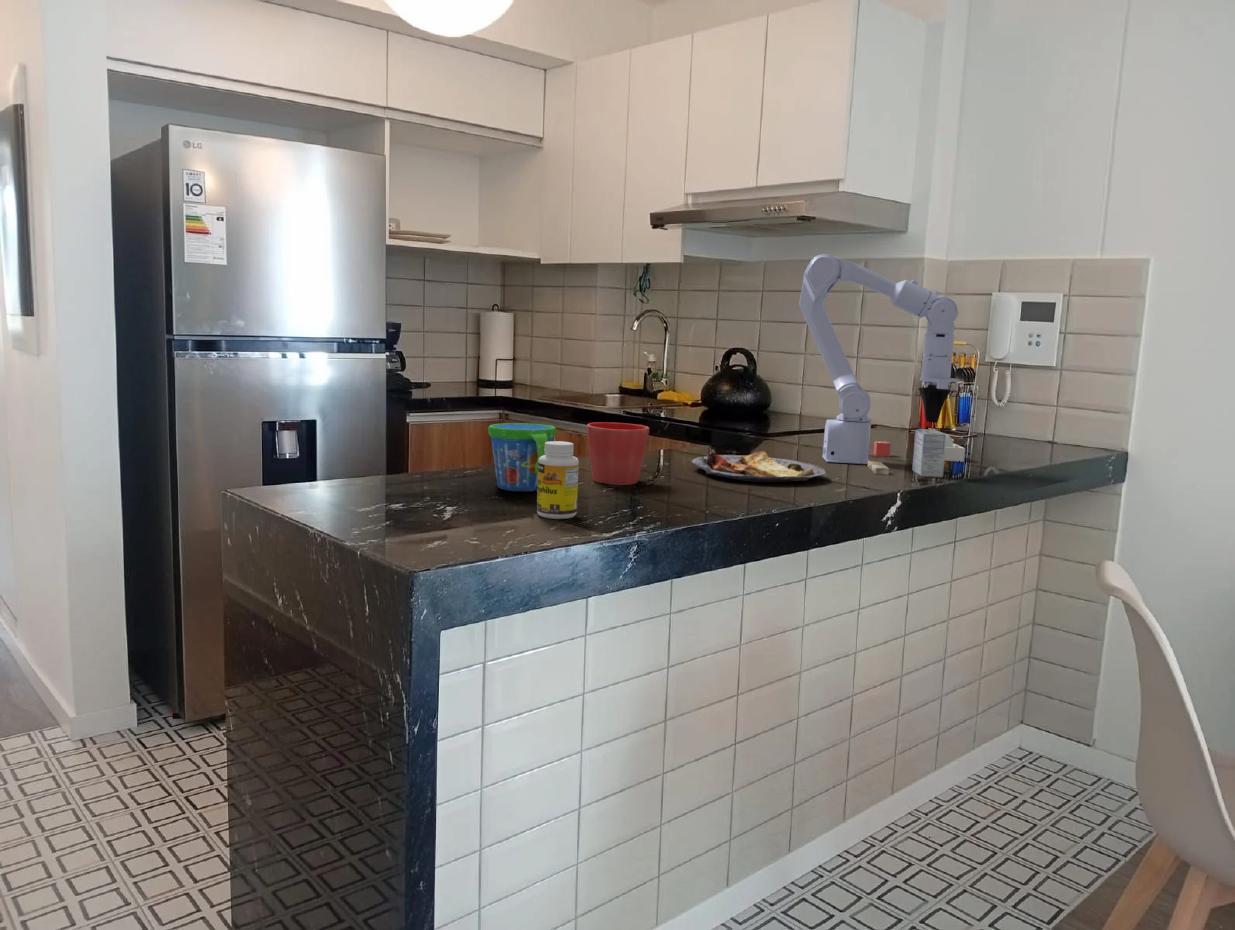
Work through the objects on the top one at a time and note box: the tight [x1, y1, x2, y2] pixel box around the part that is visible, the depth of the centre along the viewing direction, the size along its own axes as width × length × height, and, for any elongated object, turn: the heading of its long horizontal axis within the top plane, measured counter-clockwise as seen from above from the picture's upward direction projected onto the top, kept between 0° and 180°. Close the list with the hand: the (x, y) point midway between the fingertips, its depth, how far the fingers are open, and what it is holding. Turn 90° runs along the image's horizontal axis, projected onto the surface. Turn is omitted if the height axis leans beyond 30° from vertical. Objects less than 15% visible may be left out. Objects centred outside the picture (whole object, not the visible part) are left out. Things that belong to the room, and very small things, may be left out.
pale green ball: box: [943, 432, 954, 447], centre depth 210 cm, size 6×6×6 cm
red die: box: [873, 440, 891, 458], centre depth 210 cm, size 3×3×3 cm
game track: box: [867, 460, 890, 476], centre depth 186 cm, size 2×10×1 cm, turn 174°
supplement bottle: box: [536, 440, 580, 520], centre depth 128 cm, size 6×6×10 cm
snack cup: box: [487, 422, 557, 493], centre depth 147 cm, size 16×10×10 cm
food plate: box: [690, 450, 826, 483], centre depth 174 cm, size 25×23×4 cm
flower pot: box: [586, 421, 650, 486], centre depth 159 cm, size 11×11×10 cm
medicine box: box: [911, 428, 947, 479], centre depth 183 cm, size 8×4×9 cm, turn 174°
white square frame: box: [944, 443, 966, 463], centre depth 210 cm, size 9×9×3 cm
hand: (931, 422), depth 192 cm, fingers closed
